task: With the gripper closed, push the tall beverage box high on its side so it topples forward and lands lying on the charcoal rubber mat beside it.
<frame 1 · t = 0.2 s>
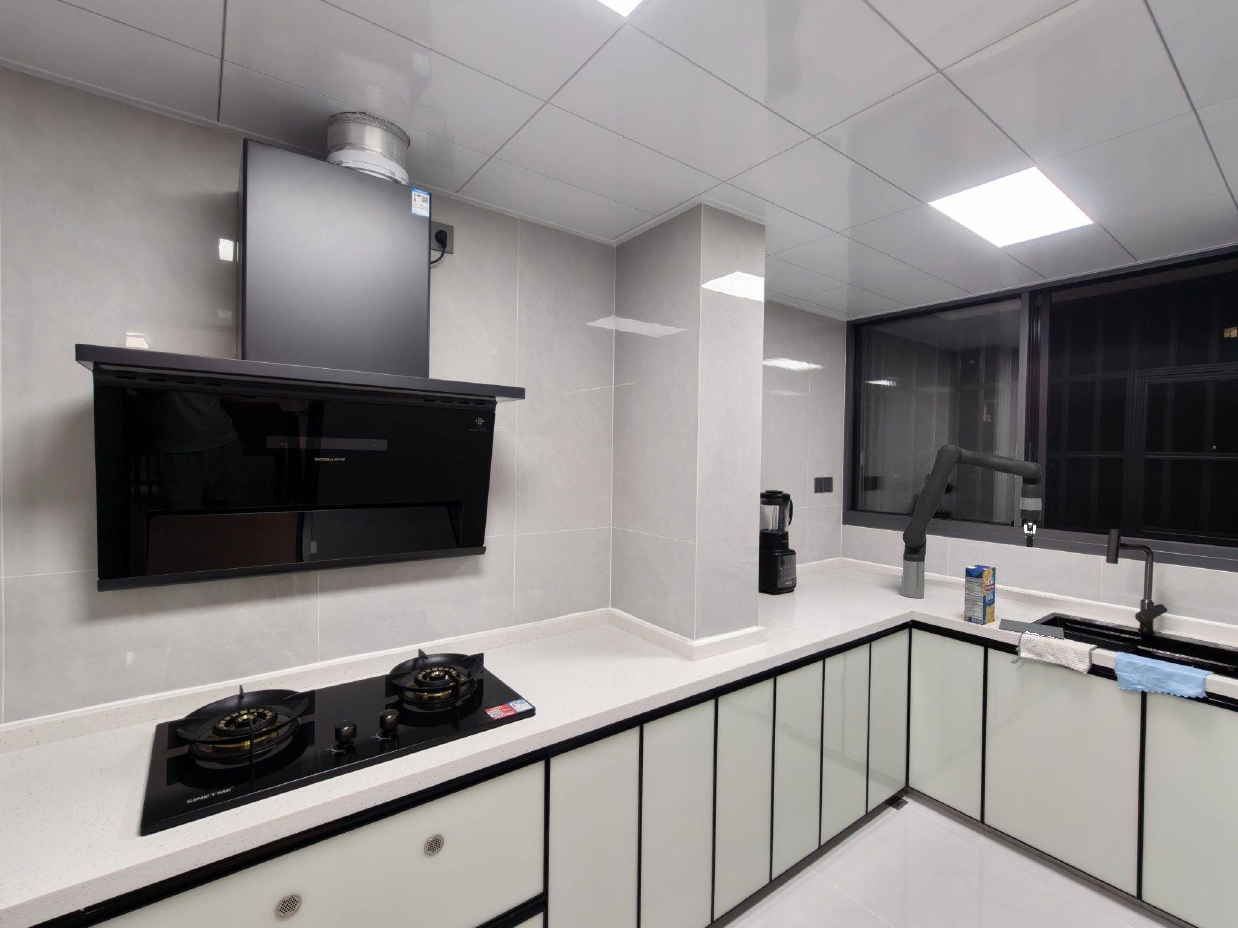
hand: (1029, 545, 241), 29 cm above the worktop, fingers open, 8 cm apart
mat: (1030, 629, 219), on the worktop
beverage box: (979, 621, 229), on the worktop
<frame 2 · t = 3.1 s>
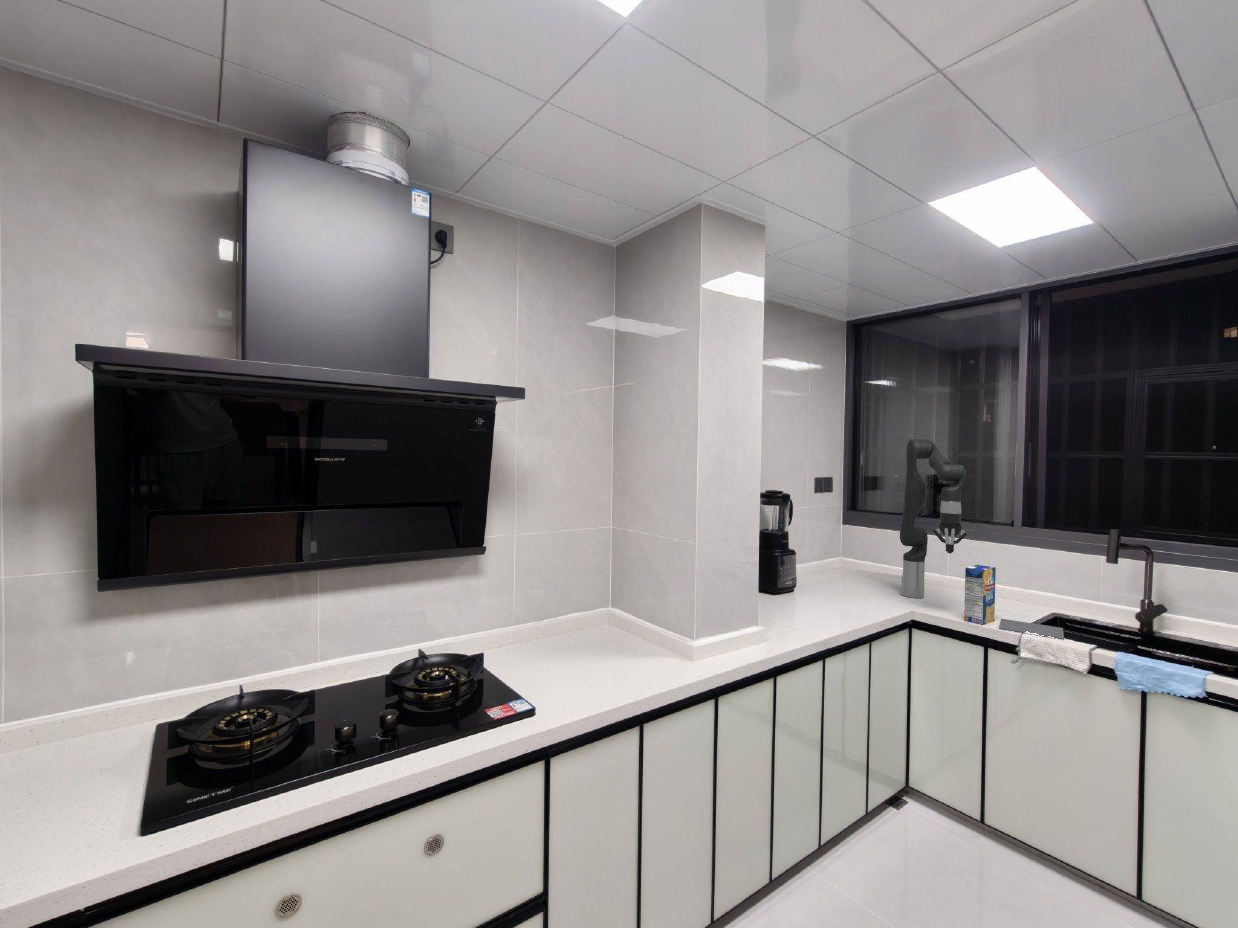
hand: (949, 553, 235), 27 cm above the worktop, fingers closed
nothing on the worktop moved.
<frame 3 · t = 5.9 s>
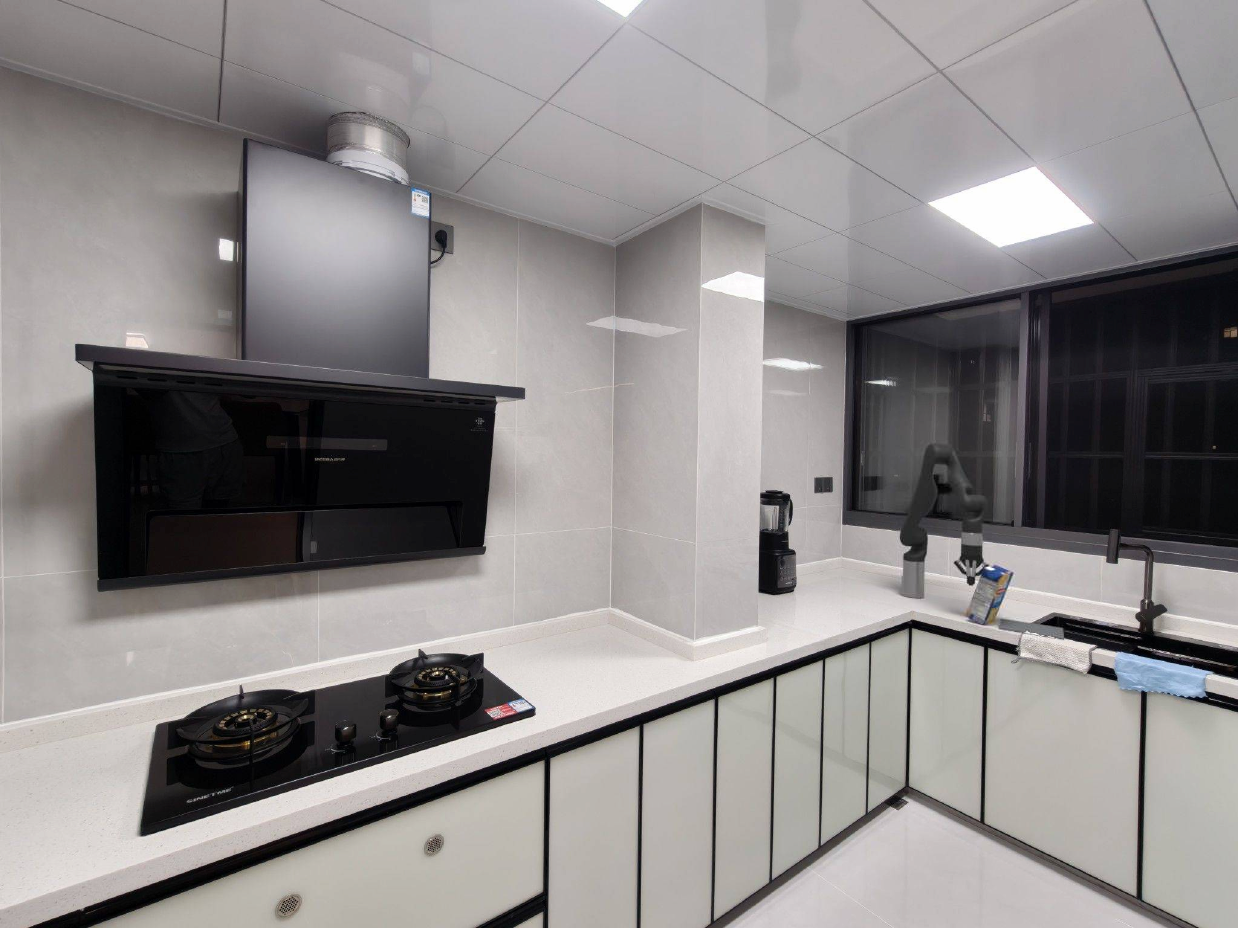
hand: (970, 585, 231), 14 cm above the worktop, fingers closed
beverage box: (979, 618, 229), point 1 cm above the worktop
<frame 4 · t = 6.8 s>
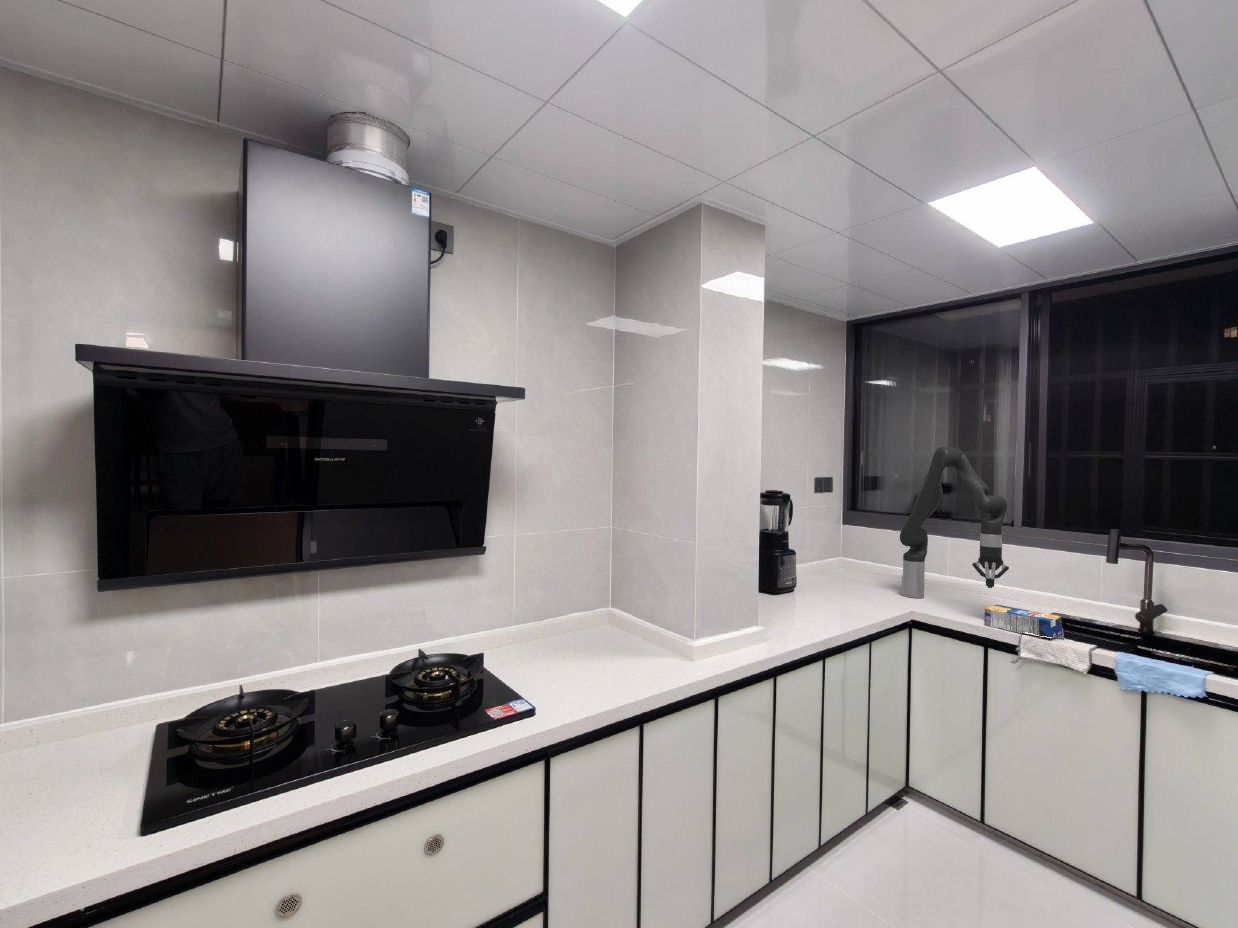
hand: (990, 587, 227), 14 cm above the worktop, fingers closed
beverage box: (990, 614, 226), point 3 cm above the worktop, touching mat
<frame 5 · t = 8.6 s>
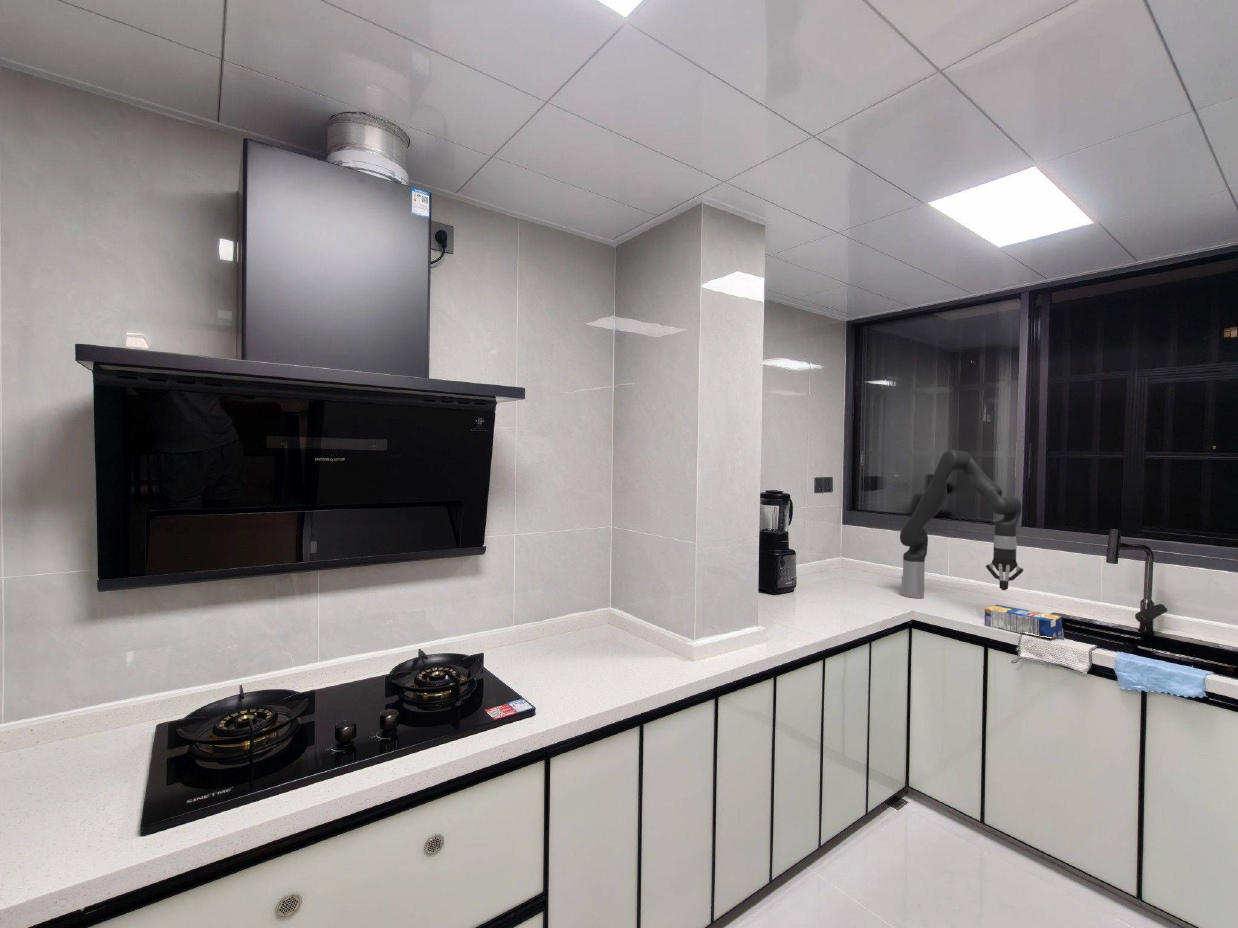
hand: (1003, 589, 224), 14 cm above the worktop, fingers closed
nothing on the worktop moved.
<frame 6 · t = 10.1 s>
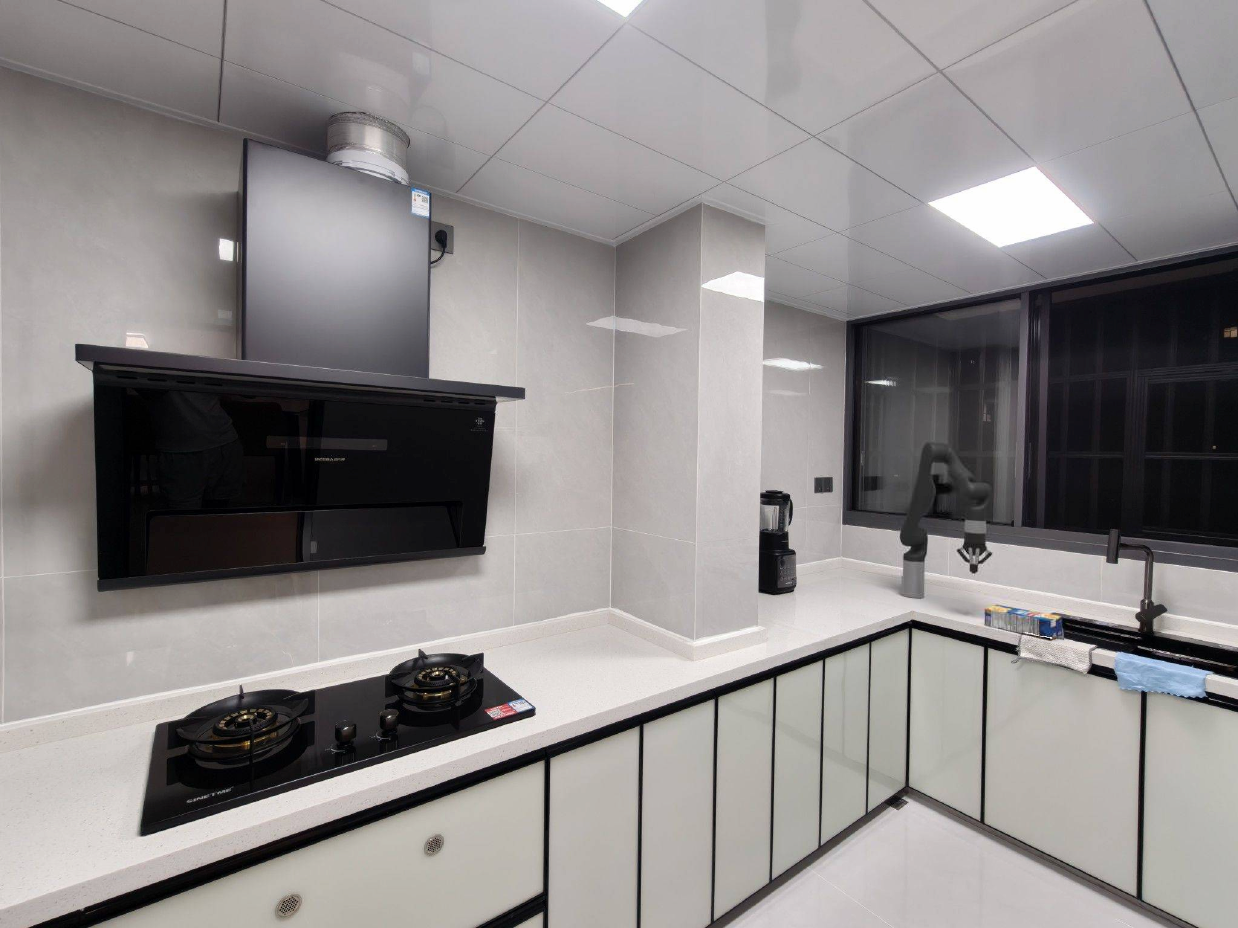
hand: (973, 573, 230), 19 cm above the worktop, fingers closed
nothing on the worktop moved.
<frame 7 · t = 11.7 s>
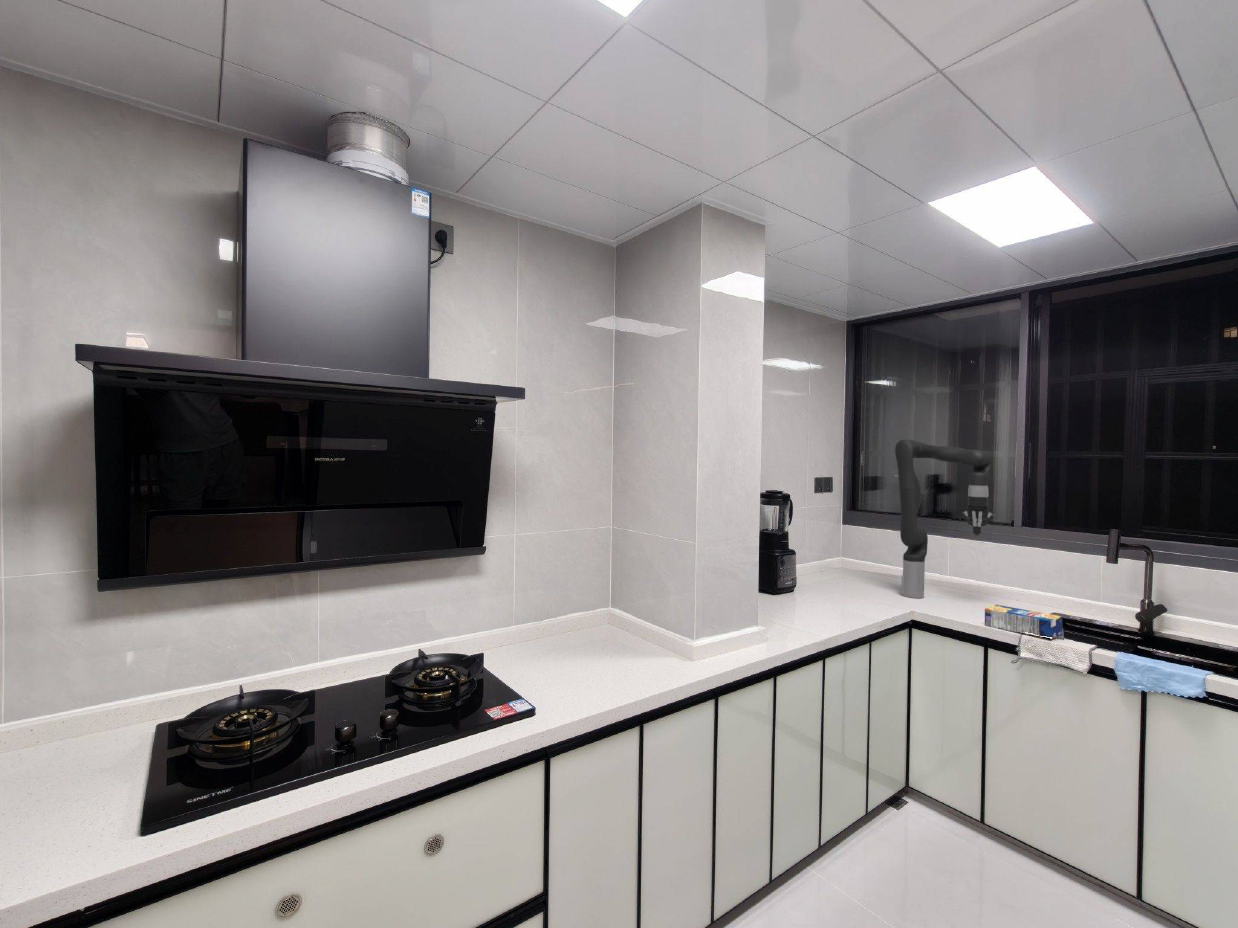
hand: (977, 534, 246), 33 cm above the worktop, fingers closed
nothing on the worktop moved.
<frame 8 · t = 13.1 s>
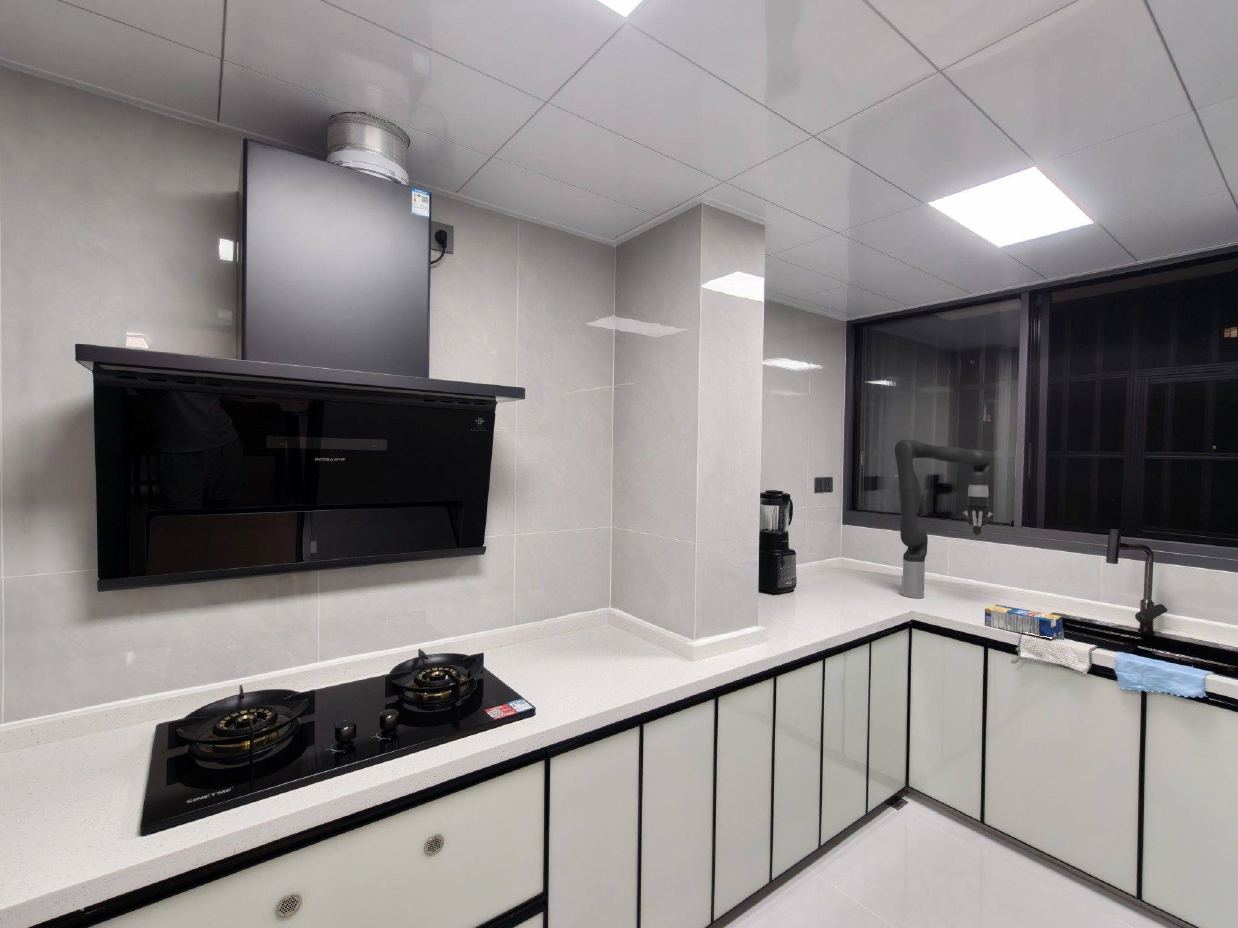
hand: (977, 534, 246), 33 cm above the worktop, fingers closed
nothing on the worktop moved.
at the end: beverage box tilted 88°; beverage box inside the target area (13.7 cm from its centre), point 3.3 cm above the worktop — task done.
